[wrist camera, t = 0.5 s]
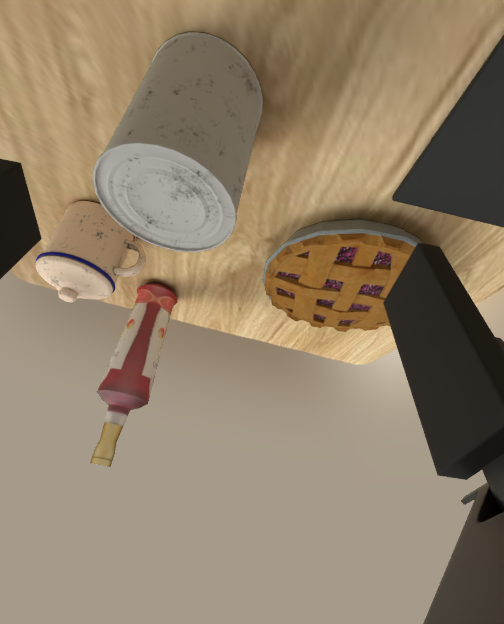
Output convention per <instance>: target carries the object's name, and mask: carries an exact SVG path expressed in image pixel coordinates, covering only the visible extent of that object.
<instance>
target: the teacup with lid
mask: <svg viewBox="0 0 504 624" xmlns="http://www.w3.org/2000/svg"><path fill="white" fill-rule="evenodd" d="M133 237H134V236H133V234H132V233H130V232H129V231H127V230H126V229H125V228H123V227H122V226H121V225H120V224H118V223H117V222H116V221H115V220H114V219H113V218H112V217H111V216H110V215H109V213H108V212H107V211H106V210H105V208H104V207H103V206H102V205H101V204H98V203H95V202H90V201H78V202H74V203H72V204H71V205H69V206H68V208H67V209H66V211H65V213H64V215H63V217H62V218H61V220H60V222H59V224H58V226H57V228H56V229H55V231H54V233H53V235H52V237H51V238H50V240H49V242H48V244H47V246H46V247H45V249H44V251H43V253H42V254H40V255H39V256H38V257H37V259H36V269H37V271H38V273H39V274H40V275H41V277H42V278H43V279H44V280H46V281H47V282H48V283H50V284H51V285H53V286H54V287H55V288H56V289H57V290H59V293H58V296H59V297H60V298H61V299H62V300H64V301H67V302H74V301H76V299H77V298H86V299H94V300H98V299H104V298H107V297H109V296H110V295H111V294H112V293H113V292H114V290H115V283H116V280H117V278H118V276H125V277H128V276H133V275H136V274H138V273H139V272H140V271H141V270H142V269H143V268H144V265H145V262H146V256H145V253H144V250H143V248H142V247H141V246H140V245H139V244H138V243H136V242H133ZM129 249H133V250H135V251H137V252H138V253H139V259H138V261H137V263H136V264H135V265H134V266H132V267H129V268H122V266H123V263H124V261H125V258H126V256H127V253H128V251H129Z"/></svg>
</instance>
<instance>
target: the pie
mask: <svg viewBox="0 0 504 624" xmlns="http://www.w3.org/2000/svg"><path fill="white" fill-rule="evenodd" d="M418 243H422V242H421V241H420V240H419V238H417V237H415V236H413V235H412V234H410V233H408V232H406V231H404V230H402V229H400V228H398V227H396V226H393V225H388V224H383V223H378V222H372V221H367V220H362V219H356V220H340V221H324V222H321V223H318V224H315V225H312V226H309V227H306V228H303V229H300V230H297V231H296V232H295V233H294V234H293V235H292V236H291V237H290V239H289V240H288V241H287V242H285V243H284V244H283V245H282V246H281V247H280V248H279V249H278V250H277V251H276V252H275V253H274V254H273V255H272V256H271V257H270V258H269V259H268V260H267V261H266V265H265V270H264V274H263V279H262V280H263V283H264V285H265V290H266V295H268V296H269V298H270V299H271V301H272V305H273V306H275V307H276V308H278V309H282V310H284V311H285V312H286V313H287V316H288V317H290V318H291V319H293V320H295V321H299V320H304V321H307V322H309V323H310V324H311V326H313V327H319V328H321V327H324V326H328V327H334V328H335V329H336V330H337V331H343V332H346V331H347V330H348V329H353V328H360V329H363V330H375V329H377V328H378V327H380V326H385V325H388V326H390V323H389V320H388V317H387V313H386V310H385V307H384V304H383V302H384V300H385V299H386V297H387V295H388V293H389V292H390V290H391V288H392V287H393V285H394V283H395V281H396V280H397V278H398V276H399V274H400V273H401V271H402V269H403V268H404V266H405V264H406V262H407V261H408V259H409V257H410V256H411V254H412V252H413V250H414V249H415V247H416V245H417V244H418Z"/></svg>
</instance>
